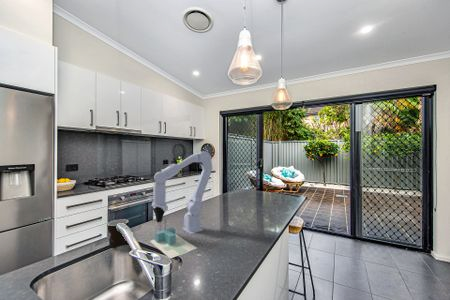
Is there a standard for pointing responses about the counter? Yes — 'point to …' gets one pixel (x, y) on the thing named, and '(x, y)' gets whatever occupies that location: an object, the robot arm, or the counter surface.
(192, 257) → the counter surface
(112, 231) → the coffee mug
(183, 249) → the mat
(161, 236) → the tee block
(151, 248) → the counter surface
